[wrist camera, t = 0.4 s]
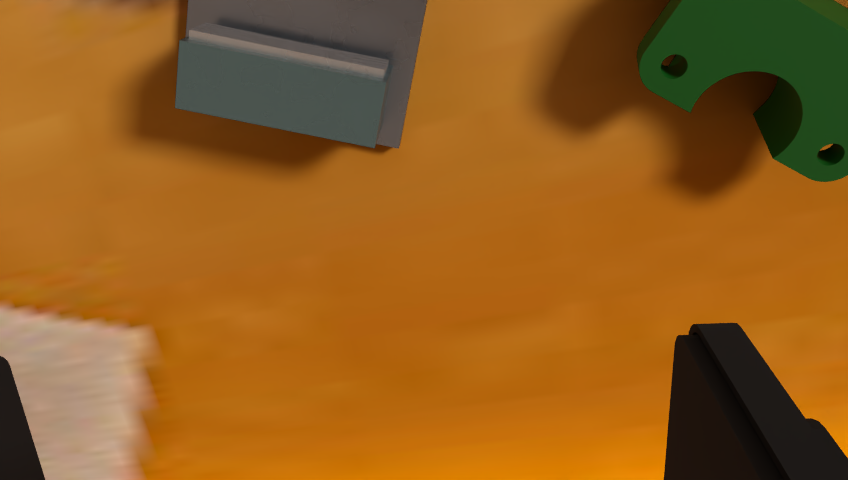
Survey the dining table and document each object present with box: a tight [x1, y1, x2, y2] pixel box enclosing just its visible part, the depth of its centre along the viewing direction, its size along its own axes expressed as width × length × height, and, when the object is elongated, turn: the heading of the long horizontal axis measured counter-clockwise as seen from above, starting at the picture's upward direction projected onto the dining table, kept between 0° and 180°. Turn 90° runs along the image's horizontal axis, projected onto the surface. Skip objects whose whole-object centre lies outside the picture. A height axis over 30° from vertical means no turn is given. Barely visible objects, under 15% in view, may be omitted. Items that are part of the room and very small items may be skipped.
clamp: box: [637, 0, 848, 182], centre depth 34 cm, size 12×6×9 cm, turn 56°
